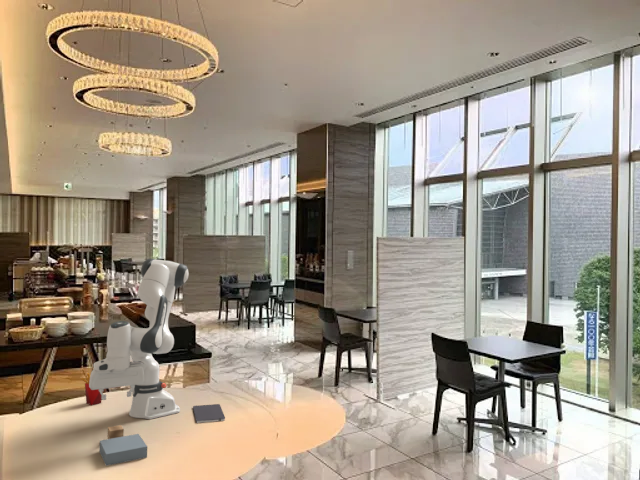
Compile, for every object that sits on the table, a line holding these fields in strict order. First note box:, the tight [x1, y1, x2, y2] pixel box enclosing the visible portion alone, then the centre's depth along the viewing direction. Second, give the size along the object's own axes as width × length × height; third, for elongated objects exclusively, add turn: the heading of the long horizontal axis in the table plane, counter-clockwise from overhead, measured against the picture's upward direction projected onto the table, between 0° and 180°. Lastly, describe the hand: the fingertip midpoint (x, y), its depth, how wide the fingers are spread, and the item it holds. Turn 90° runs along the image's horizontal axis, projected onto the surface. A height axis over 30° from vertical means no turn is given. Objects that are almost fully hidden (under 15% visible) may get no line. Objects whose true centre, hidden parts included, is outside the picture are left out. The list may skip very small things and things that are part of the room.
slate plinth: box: [98, 433, 148, 467], centre depth 179 cm, size 14×14×4 cm
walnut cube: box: [106, 424, 125, 439], centre depth 191 cm, size 5×5×5 cm
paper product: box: [192, 403, 226, 424], centre depth 225 cm, size 13×2×21 cm
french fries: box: [81, 372, 104, 406], centre depth 235 cm, size 9×8×15 cm
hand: (116, 397), depth 192 cm, fingers open, 8 cm apart
